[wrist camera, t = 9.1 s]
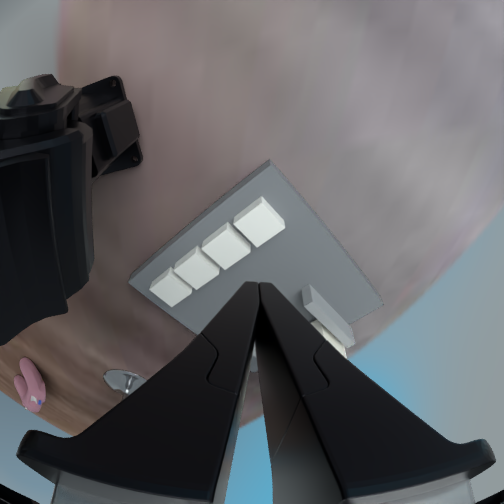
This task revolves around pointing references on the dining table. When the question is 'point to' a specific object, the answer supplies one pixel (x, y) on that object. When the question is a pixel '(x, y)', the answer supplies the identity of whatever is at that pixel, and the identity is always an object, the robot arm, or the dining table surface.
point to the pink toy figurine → (30, 386)
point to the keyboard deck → (258, 260)
